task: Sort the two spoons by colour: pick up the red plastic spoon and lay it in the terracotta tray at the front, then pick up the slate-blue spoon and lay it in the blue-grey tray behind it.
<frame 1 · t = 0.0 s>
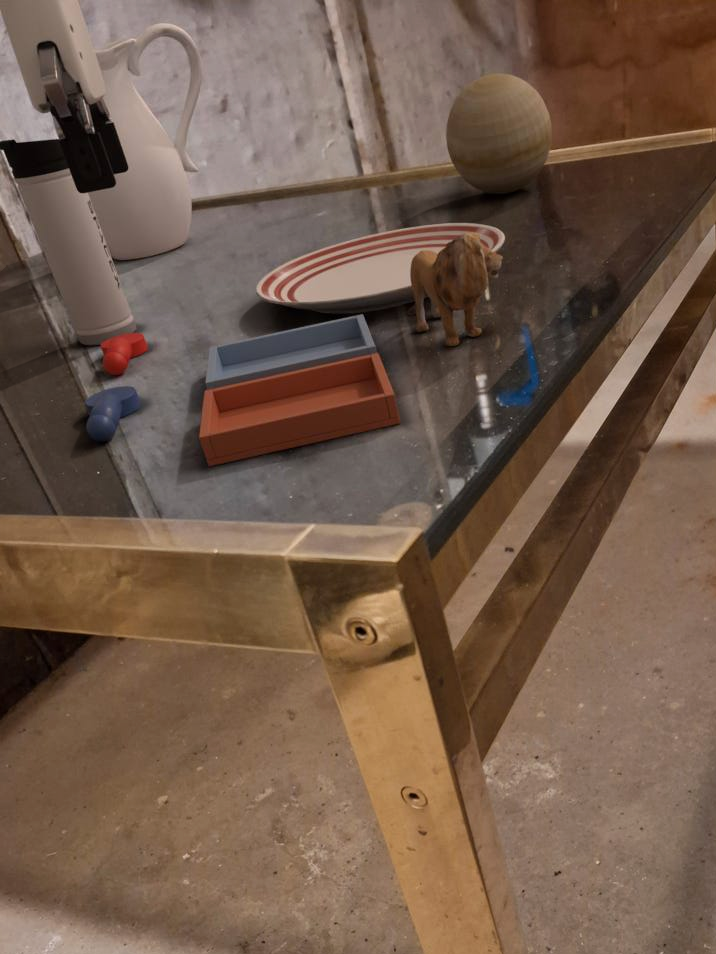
hand: (105, 181, 81), 16 cm above the table, tool pointing down, fingers open, 9 cm apart
lion figurine: (455, 333, 85), on the table
decorative ball: (506, 194, 135), on the table
red spoon: (122, 366, 92), on the table
dinner plate: (385, 289, 101), on the table
red tray: (302, 420, 72), on the table
blue tray: (295, 371, 82), on the table
travel mug: (108, 338, 102), on the table
pitcher: (173, 246, 141), on the table
blue spoon: (110, 429, 77), on the table
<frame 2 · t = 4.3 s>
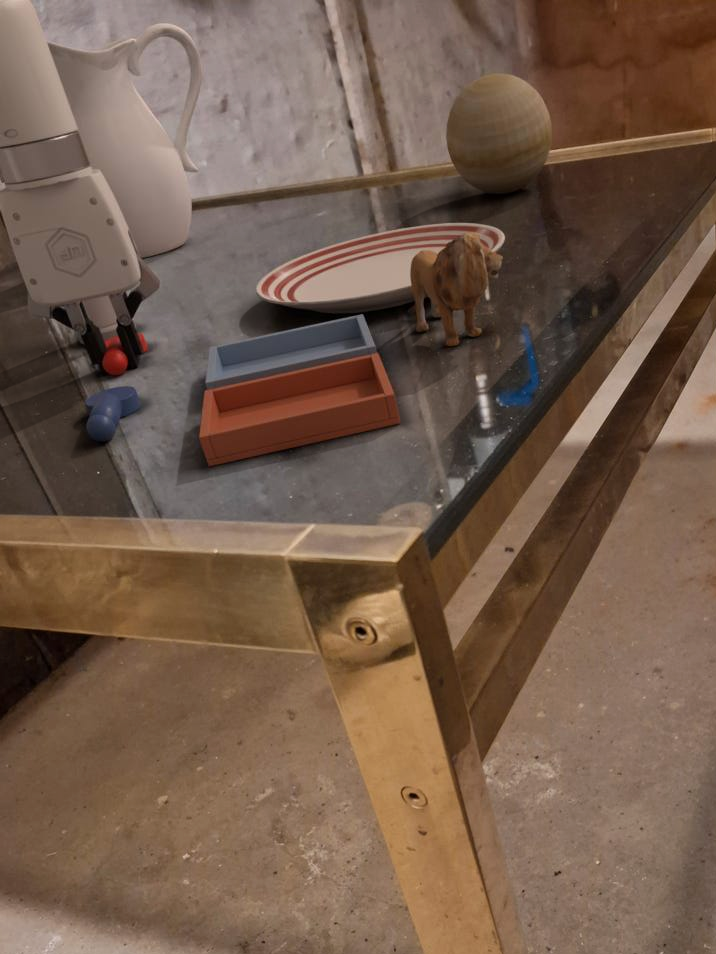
hand: (121, 365, 91), 0 cm above the table, tool pointing down, fingers closed on red spoon, 2 cm apart
red spoon: (121, 366, 92), on the table, touching gripper
everything else where it was.
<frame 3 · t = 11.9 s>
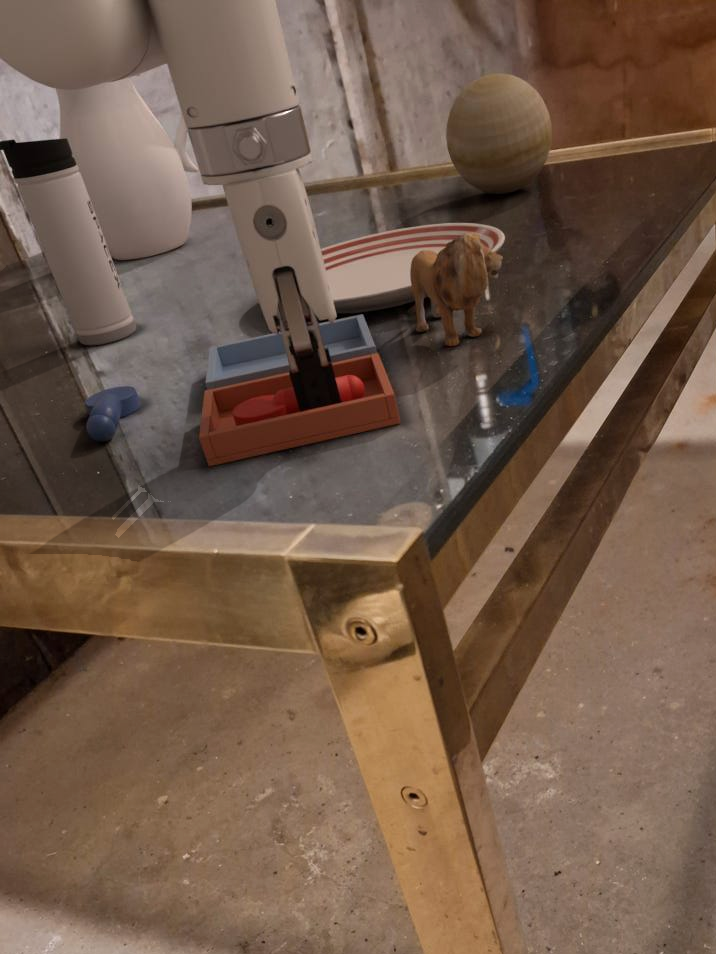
hand: (321, 407, 72), 1 cm above the table, tool pointing down, fingers closed
red spoon: (322, 410, 72), point 1 cm above the table, touching red tray
everything else where it was.
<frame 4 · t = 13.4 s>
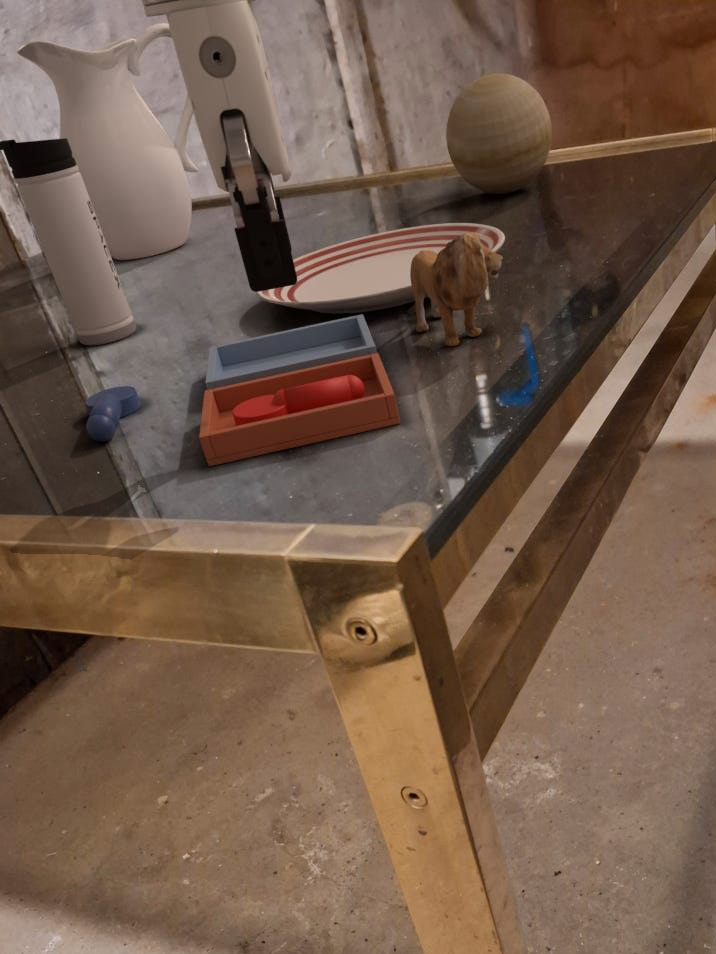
hand: (273, 271, 66), 11 cm above the table, tool pointing down, fingers open, 9 cm apart
nothing on the table moved.
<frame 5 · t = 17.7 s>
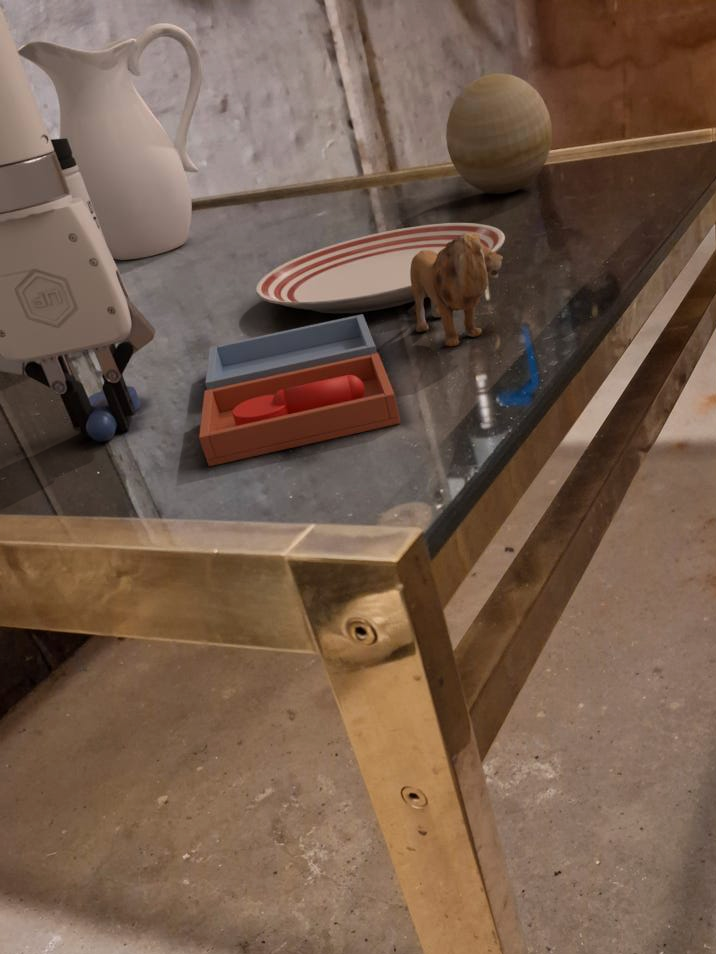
hand: (108, 427, 77), 0 cm above the table, tool pointing down, fingers closed on blue spoon, 2 cm apart
blue spoon: (109, 429, 77), on the table, touching gripper
everything else where it was.
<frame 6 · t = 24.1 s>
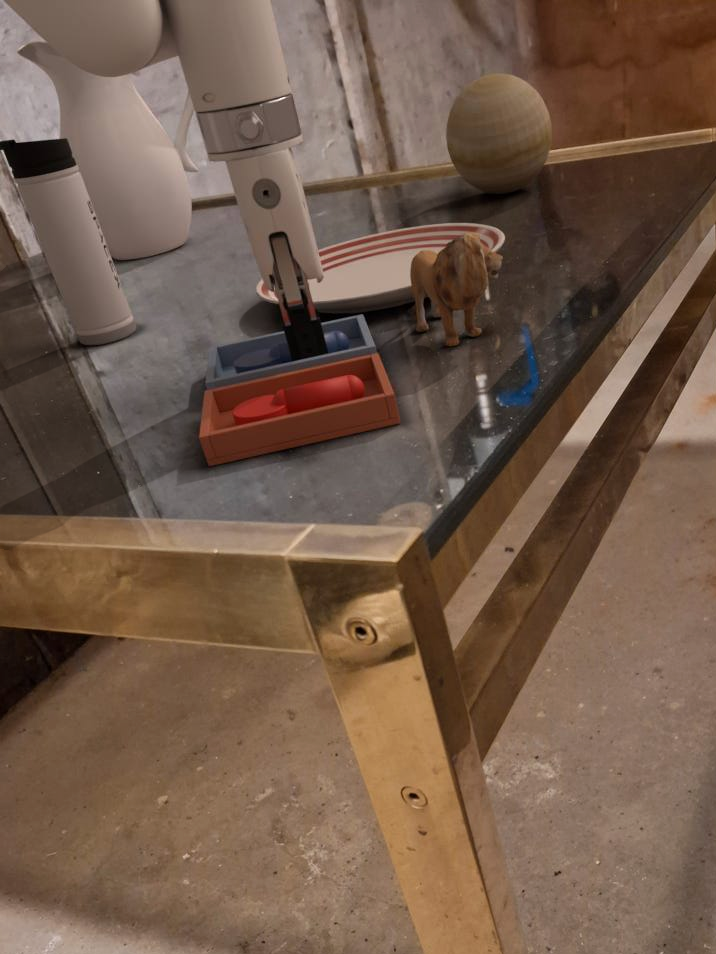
hand: (311, 360, 82), 1 cm above the table, tool pointing down, fingers closed, pressing on blue spoon, blue tray
blue spoon: (312, 362, 82), point 1 cm above the table, touching gripper
everything else where it was.
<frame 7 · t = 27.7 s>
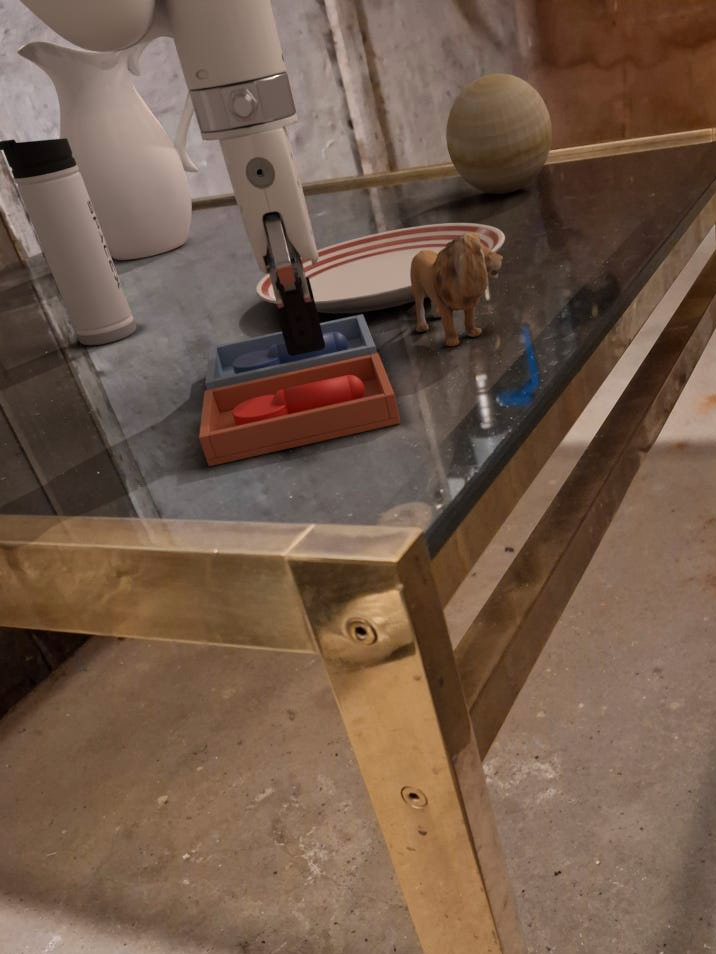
hand: (304, 336, 80), 3 cm above the table, tool pointing down, fingers open, 7 cm apart
blue spoon: (310, 362, 82), resting on blue tray
everything else where it was.
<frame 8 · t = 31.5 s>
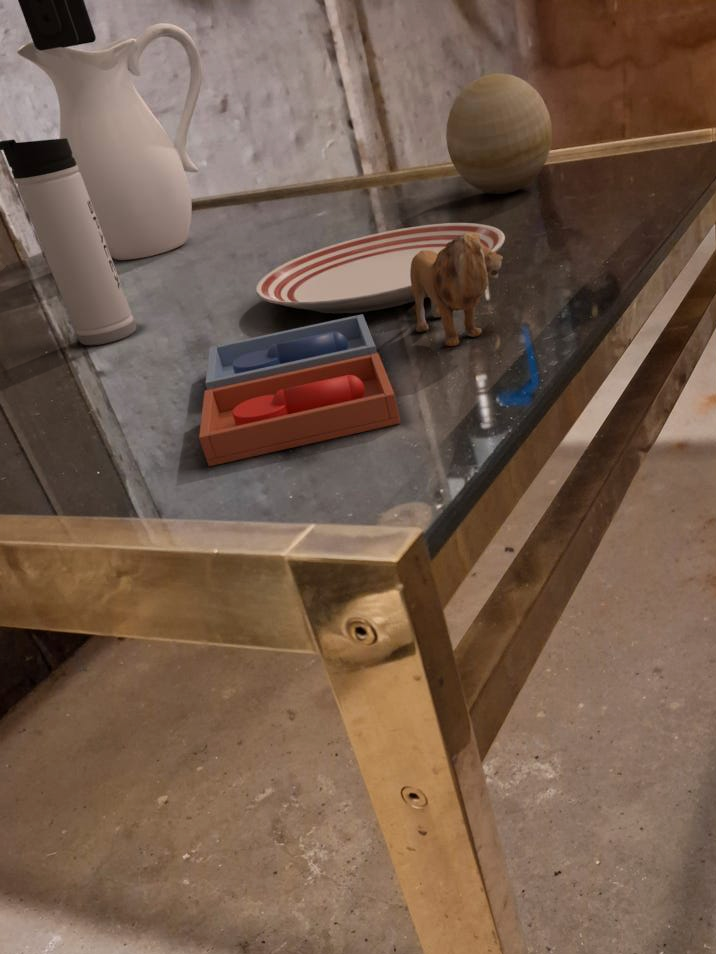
hand: (68, 45, 74), 26 cm above the table, tool pointing down, fingers open, 9 cm apart
nothing on the table moved.
at the end: red spoon inside the target area in the red tray (0.2 cm from its centre), point 0.5 cm above the red tray's base; blue spoon inside the target area in the blue tray (0.0 cm from its centre), point 0.5 cm above the blue tray's base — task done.
